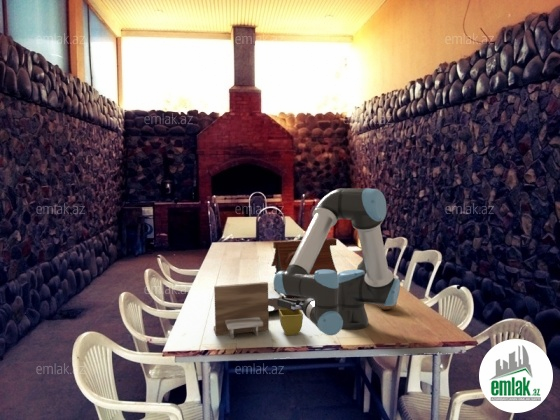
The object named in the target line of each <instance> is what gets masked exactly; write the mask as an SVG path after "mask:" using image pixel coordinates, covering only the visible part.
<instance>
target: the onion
mask: <svg viewBox="0 0 560 420" xmlns="http://www.w3.org/2000/svg"><path fill="white" fill-rule="evenodd" d="M397 303H398V301H397V302H396V304H395V305H394V306H382V305H377V306H378V307H379V308H380V309H381V310H385V311H386V310H392V309H394V308H395V307H396V305H397Z"/></svg>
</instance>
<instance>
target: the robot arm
mask: <svg viewBox="0 0 560 420" xmlns="http://www.w3.org/2000/svg"><path fill="white" fill-rule="evenodd" d="M311 214H312V219H311V221H310V223H309V225H308V227H307V229H306V230H305V233H304V235H303V237H302V239H301V240H302V241H301V243H300V244H299V246H298V248H297V250H296V252H295V254H294V256H293V258H292V260H291V262H290V264H289V266H288V268H287V270H286V271H279V272H278V273H276V274H274V278H273V289H274V288H275V290H276V291H277V292H278V293H280V295H279V297H277V298H278V299H277V306H280V307H283V308H282V309H289V310H291V311H293V312H295V311H296V309H299V310H301V312H302V313H303V316H305V317H306V318H307V319H308V320H309V321H310V322H311V323H312V324H314V326H315V327H317V329H318V330H319V331H320V332H322V333H323V334H324V335H327V336H335V335H337V334H339V332H341V330H342V329H345V330H360V329H364V328H367V327H368V326H369V317H368V314H367V311H366V308H365V303H366V304H371V305H372V304H373V305H377V306H378V305H382V306H394V305H395V304H396V305H397V303H398V298H399V295H400V290H401V280H400V279H399V278H397V277H394V274H393V272H392V270H391V269H389V266H388V261H387V257H386V256H387V255H386V252H385V244H384V241H383V240H384V239H383V236H382V235H383V234H382V231H381V224H382V223H383V221H384V220H385V218H386V216H387V201H386V198H385V195H384V194H383V192H382V191H381V190H380V189H378V188H369V187H368V188H367V187H366V188H350V187H349V188H345V187H344V188H343V187H341V188H336V189H335V190H331V191H330V192H329V193H327V194H326V195H324V197H322V198H321V199H320V201H319V202H317V204H316V205H315V207H314V209H313V212H312V213H311ZM338 220H339V221H340V220H350V221H351V226H352V227H353V228H354V229H355V230H357V233H358V234H357V235H358V238H359V242H360V243H359V244H360V249H361V253H362V256H363V257H364V262H365V266H366V271H367V273H366V275H365V272H364V271H363V270H357V269H348V270H343V271H341V272H339V273H338V271H337V272H335V271H334V270H328V269H326V270H325V269H321V270H317V271H315V274H314V275H310V274H309V273H310V271H311V269H312V267H313V264H314V262H315V260H316V258H317V256H318V254H319V252H320V250H321V248H322V245H323V243H324V241H325V239H327V237H328V234H329V233H330V231H331V229H332V227H333V226H335V225H336V224H337V222H338ZM363 257H362V258H363ZM275 290H274V291H275ZM276 291H275V292H276ZM277 292H276V293H277ZM278 293H277V294H278ZM284 294H285V295H293V296H301V297H302V298H307V299H301V298H297V299H295V298H290V299H289V298H286V296H285V295H284ZM396 302H397V303H396Z"/></svg>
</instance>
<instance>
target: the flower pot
mask: <svg viewBox="0 0 560 420" xmlns="http://www.w3.org/2000/svg"><path fill="white" fill-rule="evenodd" d="M278 315H279V322H280V325H281V328H282V330H283V333H284V335H286V336H291V335H292V336H293V335H294V336H295V335H299V334H300V332H301V330H302V327H303V319H304V313H303V311H302V310H299V309H296V311H295V312H293V311H291V310H289V309H286V308H282V309H279V310H278Z"/></svg>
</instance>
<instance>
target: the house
mask: <svg viewBox="0 0 560 420" xmlns="http://www.w3.org/2000/svg"><path fill="white" fill-rule="evenodd" d="M301 241H302V239H301V240H282V241H281V240H279V241H273V242H272V243H273V244H272V245H273V246H272V248H273V249H274V255H273V259H272V263H271V267H275V268H274V269H275V272H274V275H276V273H278V272H279V271H286V270H287V268H288V266H289V264H290V262H291V260H292V258H293V256H294V254H295V252H296V250H297V248H298V246H299V244H300V243H301ZM337 244H338V243H337V239H336V238H334V237H333V238H326V239H325V241H324V243H323V245H322V248H321V250H320V252H319V254H318V256H317V258H316V260H315V262H314V264H313V267H312V269H311V271H310V273H309V274H310V275H314V274H315V271H317V270H321V269H325V270H326V269H328V270H334V271H335V272H337V273H338V270H337V267H336V266H335V263H334V259H333V255H332V250H331V247H333V246H334V247H335V246H337ZM273 290H274V292H276V293H277V294H278V295H279V296H280V293H278V292H277V291H276V290H275V288H274V287H273ZM284 295H285V294H284ZM285 296H286V298H289V299H301V298H303V297H301V296H293V295H285Z"/></svg>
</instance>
